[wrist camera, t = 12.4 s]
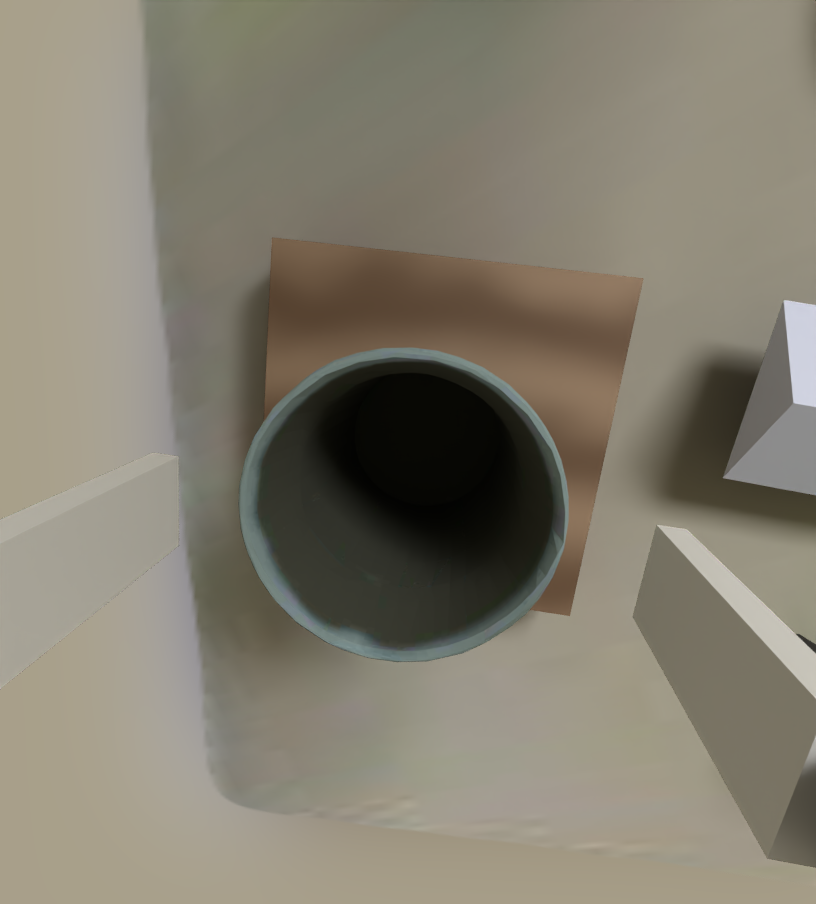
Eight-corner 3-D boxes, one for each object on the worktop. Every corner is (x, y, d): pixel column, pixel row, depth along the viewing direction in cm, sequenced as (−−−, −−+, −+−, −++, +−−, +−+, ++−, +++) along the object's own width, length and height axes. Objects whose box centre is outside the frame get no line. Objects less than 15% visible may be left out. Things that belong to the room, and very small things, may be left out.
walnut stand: (296, 248, 29) (271, 237, 26) (618, 284, 28) (643, 278, 24) (280, 539, 34) (257, 567, 30) (557, 581, 33) (569, 615, 29)
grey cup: (326, 514, 29) (236, 642, 17) (335, 328, 26) (235, 332, 15) (509, 535, 28) (543, 684, 17) (536, 345, 26) (598, 364, 14)
